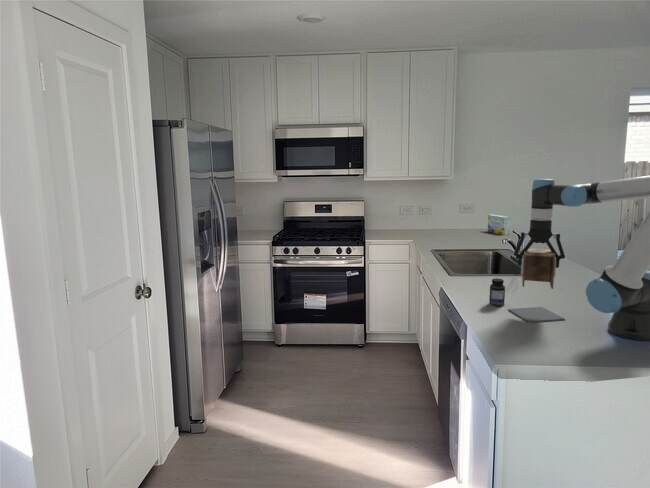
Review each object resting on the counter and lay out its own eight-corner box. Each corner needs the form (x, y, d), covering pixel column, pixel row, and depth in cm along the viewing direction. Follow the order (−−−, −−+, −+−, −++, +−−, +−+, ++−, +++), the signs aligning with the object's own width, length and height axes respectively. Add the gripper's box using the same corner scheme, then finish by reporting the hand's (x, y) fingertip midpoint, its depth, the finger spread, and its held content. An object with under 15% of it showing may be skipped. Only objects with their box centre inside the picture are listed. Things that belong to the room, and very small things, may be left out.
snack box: (487, 231, 392) (487, 214, 389) (492, 231, 393) (493, 214, 391) (503, 235, 372) (504, 217, 369) (509, 234, 374) (510, 216, 371)
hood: (551, 281, 183) (553, 249, 181) (553, 288, 173) (555, 254, 171) (522, 279, 187) (524, 248, 185) (522, 286, 178) (524, 253, 175)
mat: (564, 320, 176) (564, 318, 176) (528, 322, 174) (528, 321, 174) (541, 308, 191) (541, 306, 191) (508, 310, 189) (508, 309, 189)
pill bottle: (492, 301, 201) (493, 277, 199) (506, 303, 198) (507, 279, 196) (487, 304, 197) (488, 280, 195) (501, 307, 193) (502, 282, 191)
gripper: (573, 218, 175) (569, 274, 179) (508, 217, 183) (506, 270, 187) (576, 221, 168) (571, 279, 172) (508, 219, 177) (505, 274, 181)
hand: (537, 274), depth 180 cm, fingers closed on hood, 11 cm apart
